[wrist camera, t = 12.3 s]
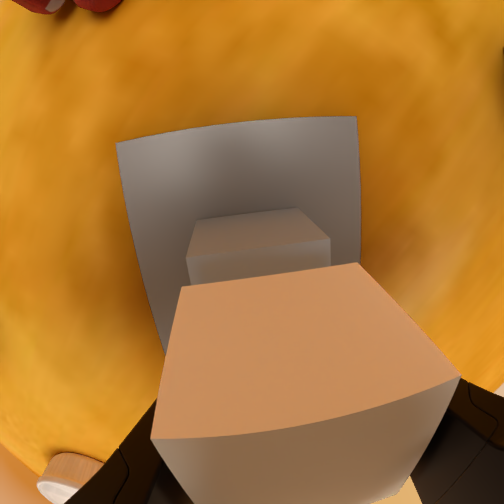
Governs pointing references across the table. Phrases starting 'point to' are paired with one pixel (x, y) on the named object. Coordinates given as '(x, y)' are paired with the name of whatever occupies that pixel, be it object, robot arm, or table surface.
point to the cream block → (297, 390)
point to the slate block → (255, 246)
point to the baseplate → (236, 190)
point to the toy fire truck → (48, 3)
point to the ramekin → (66, 476)
